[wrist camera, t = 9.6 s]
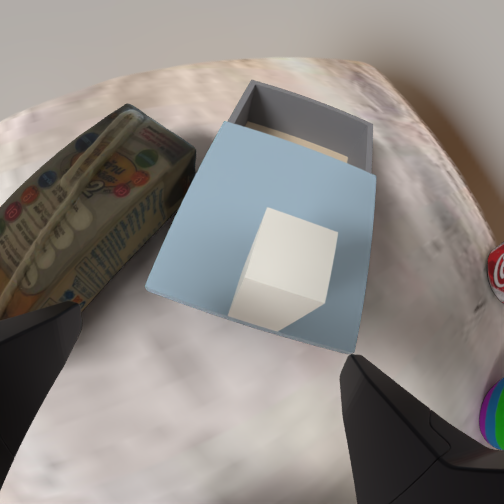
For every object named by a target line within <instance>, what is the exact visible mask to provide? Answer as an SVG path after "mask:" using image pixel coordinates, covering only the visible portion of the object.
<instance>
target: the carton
mask: <svg viewBox="0 0 504 504" xmlns="http://www.w3.org/2000/svg"><path fill="white" fill-rule="evenodd" d="M228 122H230V123H233V124H237V125H240V126H243V127H247V128H250V129H253V130H257V131H260V132H263V133H266V134H269V135H272V136H275V137H278V138H281V139H284V140H287V141H290V142H293V143H295V144H298V145H301V146H304V147H307V148H309V149H312V150H315V151H317V152H320V153H322V154H325V155H328V156H330V157H333V158H335V159H338V160H340V161H343V162H345V163H348V164H350V165H352V166H355V167H357V168H359V169H362V170H364V171H366V172H369V173H371V172H372V148H373V124H371V123H369V122H367V121H365V120H363V119H360V118H358V117H356V116H353V115H351V114H349V113H346V112H344V111H341V110H339V109H337V108H334V107H332V106H329V105H326V104H324V103H321V102H319V101H316V100H313V99H310V98H308V97H305V96H302V95H299V94H296V93H293V92H290V91H287V90H284V89H281V88H278V87H275V86H271V85H268V84H265V83H261V82H258V81H254V80H251V81H250V83H249V85H248V87H247V88H246V90H245V92H244V93H243V95H242V97H241V99H240V100H239V102H238V104H237V106H236V107H235V109H234V111H233V113H232V115H231V116H230V118H229V120H228Z"/></svg>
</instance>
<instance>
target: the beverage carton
mask: <svg viewBox="0 0 504 504" xmlns="http://www.w3.org/2000/svg"><path fill="white" fill-rule="evenodd" d="M195 161H196V149H195V147H193V146H192V145H190V144H189V143H188V142H186V141H185V140H183V139H182V138H180V137H179V136H177V135H176V134H174V133H173V132H171V131H169V130H168V129H166V128H165V127H163V126H162V125H161V124H159V123H158V122H156V121H155V120H154V119H152V118H150V117H149V116H147V115H146V114H145V113H143V112H142V111H140V110H139V109H138V108H136V107H134V106H133V105H131V104H125V105H124V106H122V107H121V108H119V109H117V110H116V111H114V112H113V113H111V114H110V115H108V116H107V117H105V118H104V119H102V120H101V121H100V122H98V123H97V124H96V125H95V126H93V127H91V128H90V129H88V130H87V131H85V132H84V133H82V134H81V135H80V136H78V137H77V138H76V139H75V140H73V141H72V142H71V143H69V144H68V145H67V146H66V147H65V148H63V149H62V150H61V151H59V152H58V153H57V154H56V155H55V156H54V157H52V158H51V159H50V160H49V161H48V162H46V163H45V164H44V165H43V166H42V167H41V168H40V169H39V170H37V171H36V172H35V173H34V174H33V175H32V176H31V177H30V178H29V179H28V180H26V181H25V182H24V183H23V184H22V185H21V186H20V187H19V188H18V189H17V190H16V191H15V192H14V193H13V194H12V195H11V196H10V197H9V198H8V199H7V200H6V201H5V203H4V204H3V205H2V206H1V207H0V321H1V320H5V319H8V318H11V317H15V316H18V315H22V314H25V313H28V312H32V311H35V310H38V309H42V308H45V307H48V306H52V305H55V304H59V303H62V302H65V301H72V302H76V303H78V304H79V305H80V308H81V312H82V311H83V310H84V309H85V307H86V306H87V305H88V304H89V303H90V302H91V301H92V300H93V298H94V297H95V296H96V295H97V294H98V293H99V292H100V291H101V290H102V288H103V287H104V286H105V285H106V284H107V283H108V282H109V280H110V279H111V278H112V277H113V276H114V275H115V274H116V273H117V272H118V271H119V270H120V269H121V268H122V266H123V265H124V264H125V263H126V262H127V261H128V260H129V259H130V258H131V257H132V256H133V255H134V254H135V253H136V252H137V251H138V250H139V249H140V248H141V247H142V246H143V245H144V243H145V242H146V241H147V240H148V239H149V238H150V237H151V236H152V235H153V234H154V233H155V232H156V231H157V230H158V229H159V228H160V227H161V226H162V225H163V224H164V223H165V222H166V221H167V220H168V218H169V217H170V216H171V215H172V214H173V213H174V212H175V211H176V210H177V209H178V208H179V207H180V206H181V203H182V201H183V199H184V197H185V195H186V193H187V191H188V189H189V187H190V185H191V183H192V181H193V179H194V177H195V175H196V174H195Z"/></svg>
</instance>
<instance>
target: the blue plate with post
mask: <svg viewBox="0 0 504 504" xmlns="http://www.w3.org/2000/svg"><path fill="white" fill-rule="evenodd" d="M375 193H376V176H375V175H373V174H371V173H369V172H366V171H364V170H362V169H359V168H357V167H355V166H352V165H350V164H348V163H345V162H343V161H340V160H338V159H335V158H333V157H330V156H328V155H325V154H322V153H320V152H317V151H315V150H312V149H309V148H307V147H304V146H301V145H298V144H295V143H293V142H290V141H287V140H284V139H281V138H278V137H275V136H272V135H269V134H266V133H263V132H260V131H257V130H253V129H250V128H247V127H243V126H240V125H237V124H233V123H230V122H226V121H224V123H223V124H222V126H221V128H220V130H219V132H218V133H217V135H216V137H215V139H214V141H213V143H212V144H211V146H210V148H209V150H208V152H207V154H206V156H205V158H204V160H203V161H202V163H201V165H200V167H199V169H198V171H197V173H196V175H195V177H194V179H193V181H192V183H191V185H190V187H189V189H188V191H187V193H186V195H185V197H184V199H183V201H182V203H181V206H180V208H179V210H178V212H177V214H176V216H175V218H174V220H173V223H172V225H171V227H170V229H169V231H168V233H167V236H166V238H165V240H164V242H163V245H162V247H161V249H160V251H159V254H158V256H157V258H156V261H155V263H154V265H153V268H152V270H151V272H150V275H149V277H148V280H147V282H146V285H145V288H146V289H147V291H149V292H152V293H154V294H157V295H160V296H162V297H165V298H168V299H170V300H173V301H176V302H179V303H181V304H184V305H187V306H190V307H193V308H196V309H198V310H201V311H204V312H207V313H210V314H213V315H216V316H219V317H222V318H225V319H228V320H231V321H234V322H237V323H240V324H243V325H247V326H250V327H253V328H256V329H259V330H263V331H266V332H269V333H273V334H276V335H279V336H283V337H286V338H290V339H293V340H296V341H300V342H304V343H307V344H311V345H314V346H318V347H322V348H326V349H329V350H333V351H337V352H341V353H345V354H351V353H354V352H355V347H356V342H357V337H358V332H359V326H360V321H361V315H362V309H363V303H364V297H365V290H366V283H367V276H368V268H369V260H370V252H371V242H372V232H373V221H374V208H375Z"/></svg>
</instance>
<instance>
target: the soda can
mask: <svg viewBox="0 0 504 504" xmlns="http://www.w3.org/2000/svg"><path fill="white" fill-rule="evenodd" d="M487 272H488V279H489V283H490V286H491V288H492V290H493V292H494V294H495V295H496V296H497V297H498V299H499V300H500V301H501V302H502V303H504V242H503V243H501V244H500V245H499V246H497V247H496V248H495V249H493V250H492V251H491V252H490V254H489V258H488V271H487Z"/></svg>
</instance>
